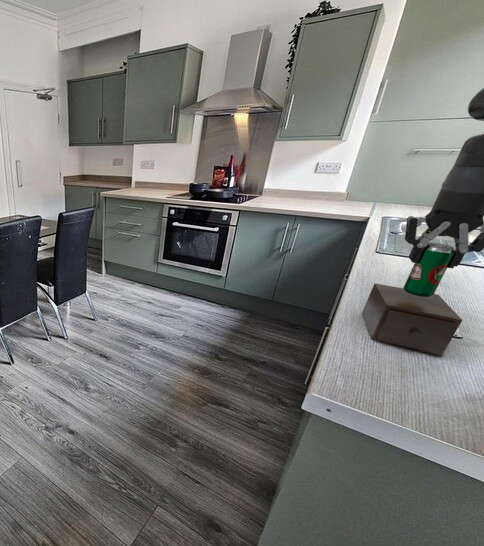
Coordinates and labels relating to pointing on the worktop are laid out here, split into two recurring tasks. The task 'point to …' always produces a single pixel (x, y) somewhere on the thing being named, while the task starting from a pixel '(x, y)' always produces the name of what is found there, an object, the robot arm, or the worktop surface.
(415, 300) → the cabinet
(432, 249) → the soda can
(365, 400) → the worktop surface
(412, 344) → the drawer
